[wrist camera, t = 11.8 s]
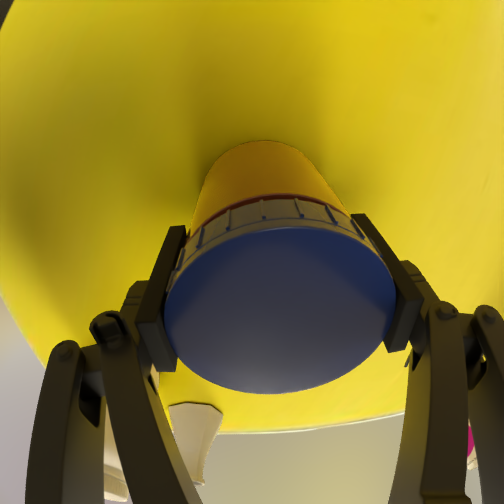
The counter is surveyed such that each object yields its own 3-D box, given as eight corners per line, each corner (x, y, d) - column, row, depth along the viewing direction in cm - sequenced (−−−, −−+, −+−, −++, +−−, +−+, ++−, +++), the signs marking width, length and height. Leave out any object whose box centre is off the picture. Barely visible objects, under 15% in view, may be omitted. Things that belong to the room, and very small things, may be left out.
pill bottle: (176, 371, 30) (159, 507, 17) (135, 392, 32) (115, 504, 20) (113, 330, 26) (69, 476, 14) (80, 358, 29) (42, 475, 16)
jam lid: (182, 175, 9) (169, 199, 8) (412, 225, 10) (437, 252, 9) (167, 350, 13) (161, 382, 12) (334, 366, 15) (342, 397, 13)
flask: (229, 424, 37) (229, 490, 28) (179, 425, 37) (173, 488, 29) (215, 399, 33) (213, 476, 24) (159, 401, 33) (148, 473, 25)
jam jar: (202, 137, 18) (161, 207, 9) (331, 146, 18) (410, 221, 9) (202, 249, 22) (181, 371, 13) (312, 253, 22) (351, 370, 14)
